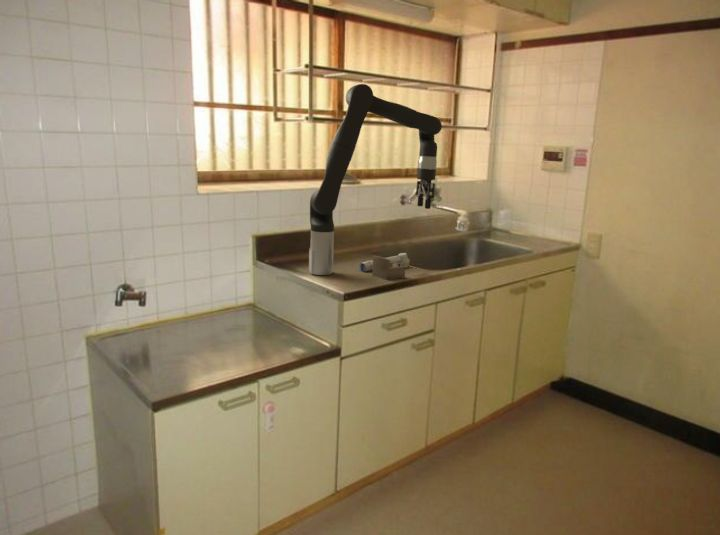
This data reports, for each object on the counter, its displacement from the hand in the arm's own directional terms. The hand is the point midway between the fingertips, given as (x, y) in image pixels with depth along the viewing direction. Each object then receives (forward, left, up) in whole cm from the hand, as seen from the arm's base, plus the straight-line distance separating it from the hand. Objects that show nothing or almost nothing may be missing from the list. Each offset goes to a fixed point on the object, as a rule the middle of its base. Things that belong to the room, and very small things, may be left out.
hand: (423, 207), depth 222 cm
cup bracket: (-17, -9, -27) cm, 33 cm away
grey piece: (-14, +5, -28) cm, 31 cm away
